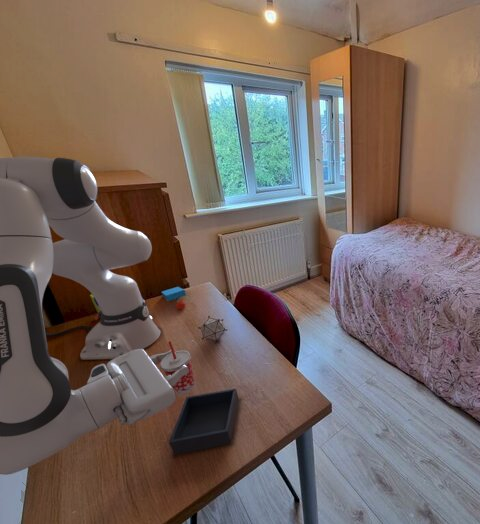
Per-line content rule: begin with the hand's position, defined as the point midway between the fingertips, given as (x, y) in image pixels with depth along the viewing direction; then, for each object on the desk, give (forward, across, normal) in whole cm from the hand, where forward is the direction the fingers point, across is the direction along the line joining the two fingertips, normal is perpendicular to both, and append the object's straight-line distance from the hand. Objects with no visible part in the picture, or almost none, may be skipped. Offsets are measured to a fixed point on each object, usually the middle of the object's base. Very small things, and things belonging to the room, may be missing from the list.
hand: (180, 360), depth 67 cm
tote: (0, -6, +17) cm, 18 cm away
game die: (+17, +25, +17) cm, 35 cm away
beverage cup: (-1, 0, +8) cm, 8 cm away
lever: (+18, +62, +17) cm, 67 cm away
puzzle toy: (-1, +70, +17) cm, 72 cm away
